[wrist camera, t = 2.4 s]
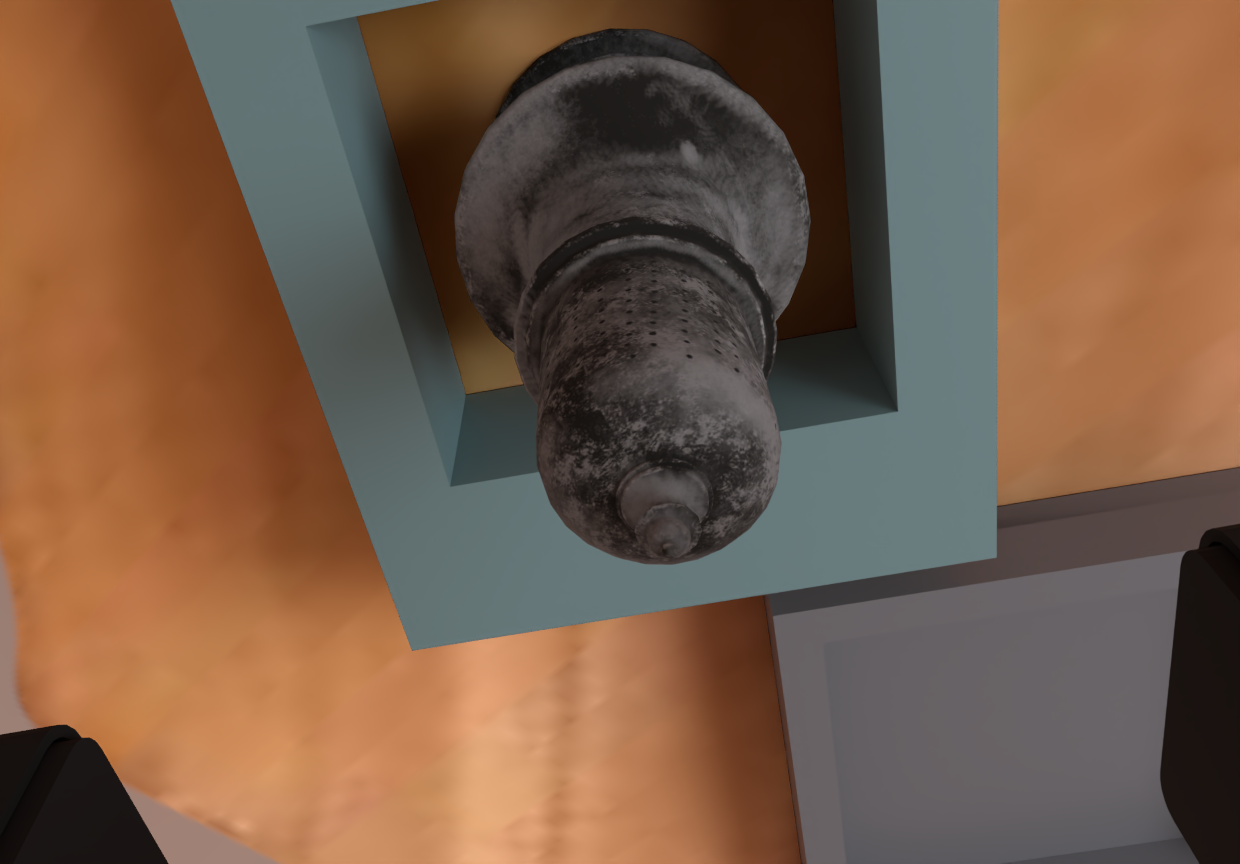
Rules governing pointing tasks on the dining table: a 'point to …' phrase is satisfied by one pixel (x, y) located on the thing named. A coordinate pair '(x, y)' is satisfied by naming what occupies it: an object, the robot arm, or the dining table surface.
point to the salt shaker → (639, 285)
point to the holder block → (507, 418)
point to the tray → (998, 689)
